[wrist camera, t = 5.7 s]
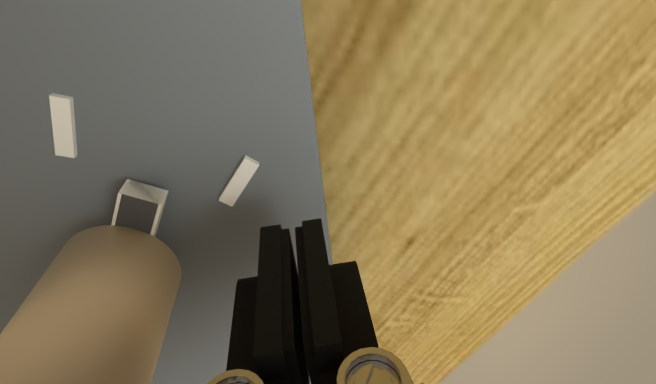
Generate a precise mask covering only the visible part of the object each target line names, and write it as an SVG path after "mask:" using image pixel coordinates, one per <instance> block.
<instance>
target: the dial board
mask: <svg viewBox="0 0 656 384" xmlns="http://www.w3.org/2000/svg"><path fill="white" fill-rule="evenodd" d="M127 179H130V180H135V181H138V182H142V183H145V184H149V185H152V186H155V187H159V188H162V189H165V190H168V194H167V198H166V201H165V205H164V208H163V212H162V215H161V219H160V222H159V226H158V229H157V232H156V236H155V237H156V238H158V239H159V240H161V241H162V242H164V243H165V244H166V245H167V246H168V247H169V248H170V249H171V250H172V251H173V253H174V254H175V255H176V257H177V259H178V261H179V263H180V267H181V281H180V285H179V288H178V292H177V295H176V298H175V302H174V305H173V309H172V312H171V316H170V319H169V323H168V326H167V330H166V333H165V337H164V340H163V344H162V347H161V351H160V354H159V357H158V361H157V364H156V368H155V371H154V375H153V378H152V382H151V384H207V383H208V382H209V381H211V380H212V379H213V378H215V377H216V376H217V375H219V374H222V373H224V372H226V368H227V359H228V351H229V342H230V334H231V325H232V317H233V308H234V300H235V291H236V284H237V281H238V279H243V278H249V277H256V276H258V259H259V241H260V228H261V227H265V226H272V225H279V224H280V225H281V227H282V229H287V228H289V231H290V236H291V241H292V246H293V251H294V256H295V261H296V266H297V252H296V238H295V227H301V226H302V221H305V220H312V219H319V218H321V221H322V226H323V232H324V238H325V244H326V250H327V256H328V261H329V265H332V258H331V250H330V241H329V233H328V224H327V216H326V208H325V199H324V191H323V183H322V174H321V166H320V157H319V149H318V141H317V132H316V124H315V116H314V107H313V99H312V91H311V82H310V74H309V65H308V57H307V49H306V40H305V32H304V24H303V15H302V7H301V0H0V334H1V332H2V331H3V330H4V328H5V327H6V325H7V324H8V323H9V321H10V320H11V318H12V317H13V316H14V314H15V313H16V312H17V310H18V309H19V307H20V306H21V305H22V303H23V302H24V300H25V299H26V298H27V296H28V295H29V293H30V292H31V291H32V289H33V288H34V286H35V285H36V284H37V282H38V281H39V280H40V278H41V277H42V275H43V274H44V273H45V271H46V270H47V268H48V267H49V266H50V264H51V263H52V261H53V260H54V259H55V257H56V256H57V255H58V253H59V252H60V250H61V249H62V248H63V246H64V245H65V244H66V242H67V241H68V240H69V239H70V238H71V237H72V236H74V235H75V234H77V233H79V232H81V231H83V230H85V229H88V228H92V227H97V226H104V225H111V224H112V219H113V214H114V210H115V205H116V201H117V196H118V192H119V191H120V189H121V188H122V186H123V185H124V183H125V182H126V180H127ZM297 272H298V266H297ZM309 379H310V377H309ZM310 384H311V381H310Z"/></svg>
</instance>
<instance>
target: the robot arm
mask: <svg viewBox="0 0 656 384" xmlns="http://www.w3.org/2000/svg"><path fill="white" fill-rule="evenodd" d="M295 238H296V252H297V266H298V272H297V266H296V261H295V256H294V251H293V246H292V241H291V236H290V231H289V228H287V229H282V227H281V225H280V224H279V225H272V226H265V227H261V228H260V241H259V259H258V276H256V277H249V278H243V279H238V281H237V284H236V291H235V300H234V308H233V317H232V325H231V334H230V342H229V351H228V359H227V368H226V372H224V373H222V374H219V375H217V376H216V377H215V378H213V379H212V380H211V381H209V382H208V383H207V384H310V381H311V384H414V383H413V381H412V379H411V377H410V375H409V373H408V371H407V368H406V367H405V365H404V364H403V363H402V361H401V360H400V359H399V358H398V357H397V356H396V355H394V354H393V353H392V352H389V351H387V350H385V349H382V348H379V347H378V343H377V339H376V335H375V332H374V328H373V324H372V320H371V316H370V312H369V309H368V305H367V301H366V297H365V293H364V289H363V285H362V282H361V278H360V274H359V270H358V266H357V263H356V261H352V262H346V263H339V264H333V265H329V261H328V256H327V250H326V244H325V238H324V232H323V226H322V221H321V218H319V219H312V220H305V221H302V226H301V227H295ZM309 377H310V379H309Z"/></svg>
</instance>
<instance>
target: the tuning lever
mask: <svg viewBox="0 0 656 384" xmlns="http://www.w3.org/2000/svg"><path fill="white" fill-rule="evenodd" d="M167 194H168V190H165V189H162V188H159V187H155V186H152V185H149V184H145V183H142V182H138V181H135V180H130V179H127V180H126V182H125V183H124V185H123V186H122V188H121V189H120V191H119V192H118V196H117V201H116V205H115V210H114V214H113V219H112V224H111V225H104V226H97V227H92V228H88V229H85V230H83V231H81V232H79V233H77V234H75V235H74V236H72V237H71V238H70V239H69V240H68V241H67V242H66V244H65V245H64V246H63V248H62V249H61V250H60V252H59V253H58V255H57V256H56V257H55V259H54V260H53V261H52V263H51V264H50V266H49V267H48V268H47V270H46V271H45V273H44V274H43V275H42V277H41V278H40V280H39V281H38V282H37V284H36V285H35V286H34V288H33V289H32V291H31V292H30V293H29V295H28V296H27V298H26V299H25V300H24V302H23V303H22V305H21V306H20V307H19V309H18V310H17V312H16V313H15V314H14V316H13V317H12V318H11V320H10V321H9V323H8V324H7V325H6V327H5V328H4V330H3V331H2V332H1V334H0V384H151V382H152V378H153V375H154V371H155V368H156V364H157V361H158V357H159V354H160V351H161V347H162V344H163V340H164V337H165V333H166V330H167V326H168V323H169V319H170V316H171V312H172V309H173V305H174V302H175V298H176V295H177V292H178V288H179V285H180V281H181V267H180V263H179V261H178V259H177V257H176V255H175V254H174V253H173V251H172V250H171V249H170V248H169V247H168V246H167V245H166V244H165V243H164V242H162V241H161V240H159V239H158V238H156V237H155V236H156V232H157V229H158V226H159V222H160V219H161V215H162V212H163V208H164V205H165V201H166V198H167Z"/></svg>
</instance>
